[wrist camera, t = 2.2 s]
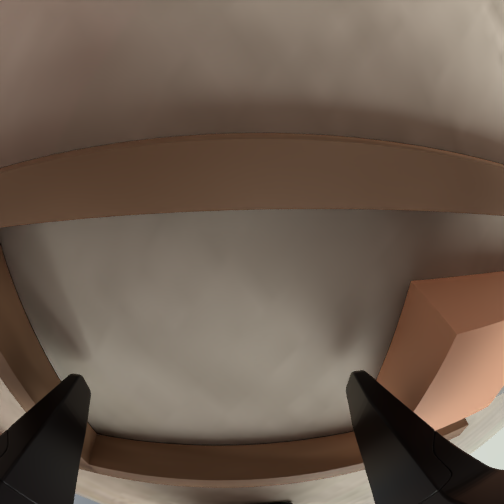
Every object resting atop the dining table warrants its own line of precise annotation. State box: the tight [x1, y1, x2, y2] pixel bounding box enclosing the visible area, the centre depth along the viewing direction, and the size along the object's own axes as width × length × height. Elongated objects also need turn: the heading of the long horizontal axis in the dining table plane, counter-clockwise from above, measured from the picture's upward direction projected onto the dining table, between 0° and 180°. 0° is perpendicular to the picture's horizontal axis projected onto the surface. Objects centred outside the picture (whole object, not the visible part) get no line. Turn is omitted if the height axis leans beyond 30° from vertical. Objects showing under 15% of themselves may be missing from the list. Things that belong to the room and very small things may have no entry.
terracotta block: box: [376, 271, 504, 431], centre depth 9 cm, size 6×6×3 cm
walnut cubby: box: [0, 133, 504, 488], centre depth 9 cm, size 14×21×2 cm
